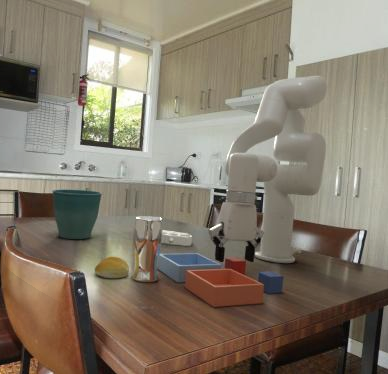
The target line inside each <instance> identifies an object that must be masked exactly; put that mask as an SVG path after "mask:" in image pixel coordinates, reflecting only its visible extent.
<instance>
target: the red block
mask: <svg viewBox="0 0 388 374" xmlns="http://www.w3.org/2000/svg"><path fill="white" fill-rule="evenodd" d="M246 267H247V260H245V259H242V258H240V257H237V256H236V257H234V256H233V257H224V269H232V270H234V271H236V272H238V273H241V274H243V275H245V276H246V269H247V268H246Z"/></svg>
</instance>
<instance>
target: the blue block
mask: <svg viewBox="0 0 388 374" xmlns="http://www.w3.org/2000/svg"><path fill="white" fill-rule="evenodd" d="M257 281H258V282H260V283H262V284H264V291H263V293H267V294H269V295H270V294H281V293H283V288H284V287H283V286H284V275H282V274H279V273H276V272H274V271H273V270H272V271H271V270H270V271H258V276H257Z"/></svg>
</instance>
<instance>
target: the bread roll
mask: <svg viewBox="0 0 388 374" xmlns="http://www.w3.org/2000/svg"><path fill="white" fill-rule="evenodd" d="M129 272H130V265H129V264H128V262H127V261H126V260H125V259H123V258H121V257H117V256H107V257H105V258H103V259H102V260H101V261H99V262H98V264H96V266H95V268H94V273H95V274H96V275H97V276H99V277H102V278H105V279H122V278H125V277H127V276H128V274H129Z"/></svg>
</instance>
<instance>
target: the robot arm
mask: <svg viewBox="0 0 388 374" xmlns="http://www.w3.org/2000/svg"><path fill="white" fill-rule="evenodd" d="M327 88H328V87H327V81H326V79H325V78H324V77H323V76H321V75H309V76H308V75H307V76H302V77H299V76H298V77H288V78H282V79H279V80H275V81H274V82H273V83H270V84H269V85H268V86H266V88H265V89H264V91H263V92H264V93H263V95H262V98H261V101H260V103H259V107H258V110H257V113H256V116H255V119H254V122H253V123H252V124H250V125H249V126H248V127H246V128H245V129H244V130H243V131H242V132H241V133H240V134H239V135H237V137H236V138H235V139H234V140H233V141H232V144H231V146H230V148H229V151H228V154H227V156H226V161H225V166H224V171H225V174H226V176H227V187H226V195H225V196H226V197H225V201H223V202H222V204H221V207H220V211H219V214H218V220H217V224H216V225H215V226H213V227H211V228H209V229H208V234H209V236H210V240H211V241H212V242H213V245H214V246H215V249H214V250H215V251H214V261H216V262H218V263H225V254H226V253H225V252H226V248H225V247H224V246H225V245H226V244H227V242H228V241H235V242H238V241H239V242H245V243H246V244H247V245H245V249H244V250H245V251H244V260H245V261H246V262H249V263H254V262H255V258H257V259H259V260H263V261H267V262H272V263H276V264H277V263H279V264H293V263H295V261H296V258H295V256H293V255H295V254H297V255H300V254H302V251H303V250H302V249H301V247H294V246H293V245H292V239H293V229H294V217H295V205H294V203H293V201H292V199H291V197H289V195H294V196H295V195H297V196H306V197H307V196H308V197H310V196H315V195H316V194H318V193H319V191H320V189H321V186H322V180H323V179H322V178H323V173H324V165H325V160H326V152H327V144H326V139H325V137H324V136H323V135H322V134H321V133H318V132H304V131H305V126H306V125H305V123H306V119H305V117H304V115H303V114H302V112H301V111H300V110H305V109H306V110H307V109H310V108H313V107H314V106H317V105H319V104H320V103H322V101H323V100H324V99H325V97H326V94H327ZM273 138H274V142H273V152H272V153H273V157H274V158H273V157H271V156H269V155H260V154H259V155H257V154H255V153H250V152H248V151H249V150H250V149H251V148H253V147H255V146H256V145H258V144H261V143H264V142H266V141H268V140H270V139H273ZM276 160H277V161H280V162H286V163H287V162H290V163H305V165H301V164H285V163H282V164H281V163H278V164H277V162H276ZM257 183H263V187H264V188H263V191H264V192H263V193H264V196H263V197H264V200H263V213H262V225H261V228H259V227H258V226H257V225H258V215H257V214H258V213H257V205H256V204H255V202H256V201H257V200H258V199H259V198H258V195H256V190H257ZM259 244H260V248H259V251H256V249H257V248H258V245H259Z"/></svg>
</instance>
